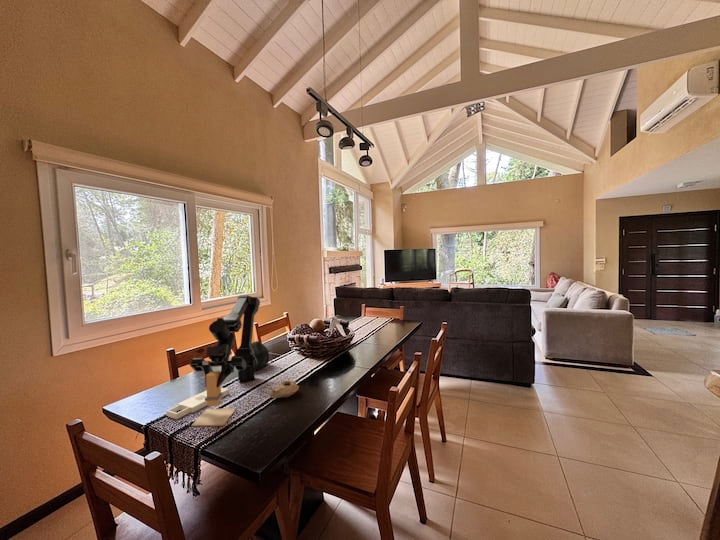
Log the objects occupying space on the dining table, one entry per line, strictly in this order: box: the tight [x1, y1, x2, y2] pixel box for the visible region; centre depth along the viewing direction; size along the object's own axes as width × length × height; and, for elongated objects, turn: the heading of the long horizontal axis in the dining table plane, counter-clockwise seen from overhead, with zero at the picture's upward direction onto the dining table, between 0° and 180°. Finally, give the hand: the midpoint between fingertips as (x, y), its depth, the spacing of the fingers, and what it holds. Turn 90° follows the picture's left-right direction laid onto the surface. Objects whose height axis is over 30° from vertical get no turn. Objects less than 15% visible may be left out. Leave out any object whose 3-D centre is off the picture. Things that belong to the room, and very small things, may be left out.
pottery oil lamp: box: [269, 380, 300, 399], centre depth 121 cm, size 9×12×7 cm
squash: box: [251, 340, 270, 370], centre depth 153 cm, size 14×15×15 cm
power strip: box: [165, 386, 230, 420], centre depth 116 cm, size 22×8×3 cm, turn 156°
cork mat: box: [190, 407, 237, 428], centre depth 106 cm, size 11×11×1 cm
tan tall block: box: [205, 370, 223, 407], centre depth 105 cm, size 4×4×11 cm
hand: (211, 387), depth 104 cm, fingers closed on tan tall block, 3 cm apart
